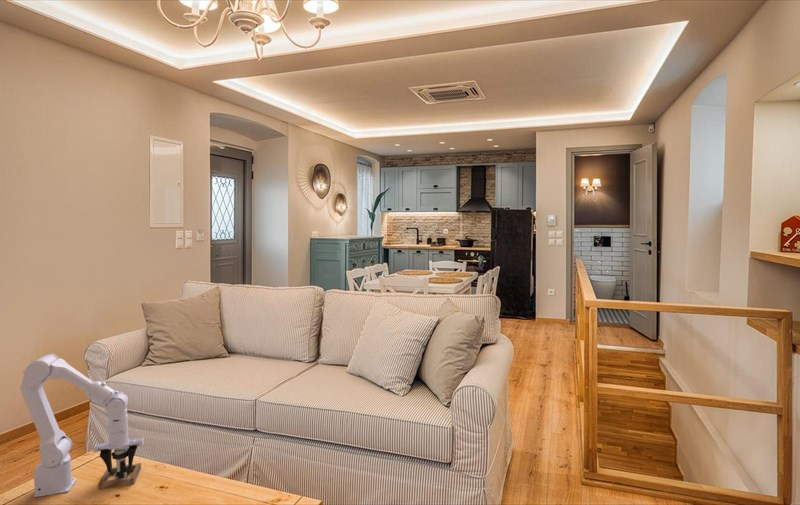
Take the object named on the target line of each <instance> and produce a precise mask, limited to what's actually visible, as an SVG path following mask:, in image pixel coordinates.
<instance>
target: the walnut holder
mask: <svg viewBox="0 0 800 505" xmlns="http://www.w3.org/2000/svg"><path fill="white" fill-rule="evenodd" d="M126 466H127V467H128V464H126ZM116 468H117V466H112V470H111V471H110V472H108V469H107V468H106V470H105V471H104V472H103V475H102V476H101V478H100V480H99V482H98V484H97V488H98V490H100V491H101V490H107V489H111V488H118V487H125V486H130V485H135V483H136V481H137V479H138V476H139V474H140V472H141V469H142V463H141V462H137V463H132V467H131V469H130V473H131V472H132V474H131V476H129V477H128V476H127V477H126V478H125V477H124V478H121V479H115V480H113V479H110V480H109V478H110V476H112V475H115V473H116Z"/></svg>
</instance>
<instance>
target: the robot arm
mask: <svg viewBox="0 0 800 505" xmlns="http://www.w3.org/2000/svg"><path fill="white" fill-rule="evenodd" d="M22 373H23V377H22V380H21V384H20V392H21V394H22V397H23V399H24V401H25V404H26V407H27V409H28V411H29V415H30V416H31V418H32V421H33V424H34V426H35V429H36V431H37V433H38V436H39V438H40V439H39V440H40V441H39V442H40V443H39V452H40V456H39V460H40V463H39V464H38V465H36V466H35V468H34V472H33V473H34V474H33V483H34V495H33V497H34V498H39V497H45V496H51V495H58V494H63V493H68V492H70V491H71V489H72V488H73V486H74V484H75V482H76V481H77V478H72V458H71V455H70V451H71V450H72V449H73V441H72V439H71V438H69V437H68V435H66V433H65V431H64V430H62V429H60V427H59V424H58V422H57V419H56V418H55V414H54V412H53V410H52V407H51V404H50V402H49V400H48V398H47V394H46V392H45V389H44V388H43V387H44V385H45V383H46V382H47V380H56V379H59V380H60V379H63V380H64V381H67V382H69V383H70V384H73V385H74V386H75V387H77V388H80V389H81V390H83V391H84V392H85V397H87V398H89V399H90V400H92V401H93V402H95V403H97V404H98V405H100V406H102V407H104V410H105V413H107V414H108V418H107V420H108V421H107V423H108V424H107V425H108V441H106V442H103V443H97V444H95V445H94V446H93V453H95V454H96V453H98V452H100V453H99V457H100V458H101V460H102V461H103V462H104V464H105V466H106V469H108V472H110V471H111V470H112V467H113V462H112V452H113V451H112V450H115V449H118V448H125V447H126V448H127V449H128V450H127V453H128V456H127V458H128V459H127V461H128V464H127V465H128V468H129V469H131V467H132V464H134V463H133V462H134V457H135V454H136V451H137V449H138V446H139V447H143V445H144V444H145V442H144V440H145V439H144V438H141V437H140V438H129V437H130V436H129V417H128V416H129V415H128V407H127V406H128V404H129V398H130V397H129V396H128V394H126V393H125V392H124V391H118V390H114V389H113V388H111V387H110V386H108V385H107V382H106V381H104V380H103V381H100V380H96V381H93V380H92V379H90V378H89V377H87V376H85V375H84V374H83V373H82V372H80V371H79V370H77V369H76V368H74V367H73V366H72V365H71V364H69V363H68V362H67V361H66V360H65V359H63V358H61V357H60V358H59V357H58V356H57V355H56V354H54V353H46V354H43V355H42V356H40V357H39V358H37V359H36V360H34V361H32V362H31V363H29V364H28V366H27V367H25V369H24V370H23V372H22Z"/></svg>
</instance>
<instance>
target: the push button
mask: <svg viewBox="0 0 800 505" xmlns="http://www.w3.org/2000/svg"><path fill="white" fill-rule="evenodd" d="M127 450H128V447H125V448H118V449H114V451H112V453H111V459H113V460H115V461H116V462H115V463H116V467H117V468H116V473H115V474H114V478H112V480H115V479H121V478H128V476H129V475H130V474H131V472H130V469H129V468H128V467H127V466H126V465H127V458H128V453H127Z"/></svg>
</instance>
